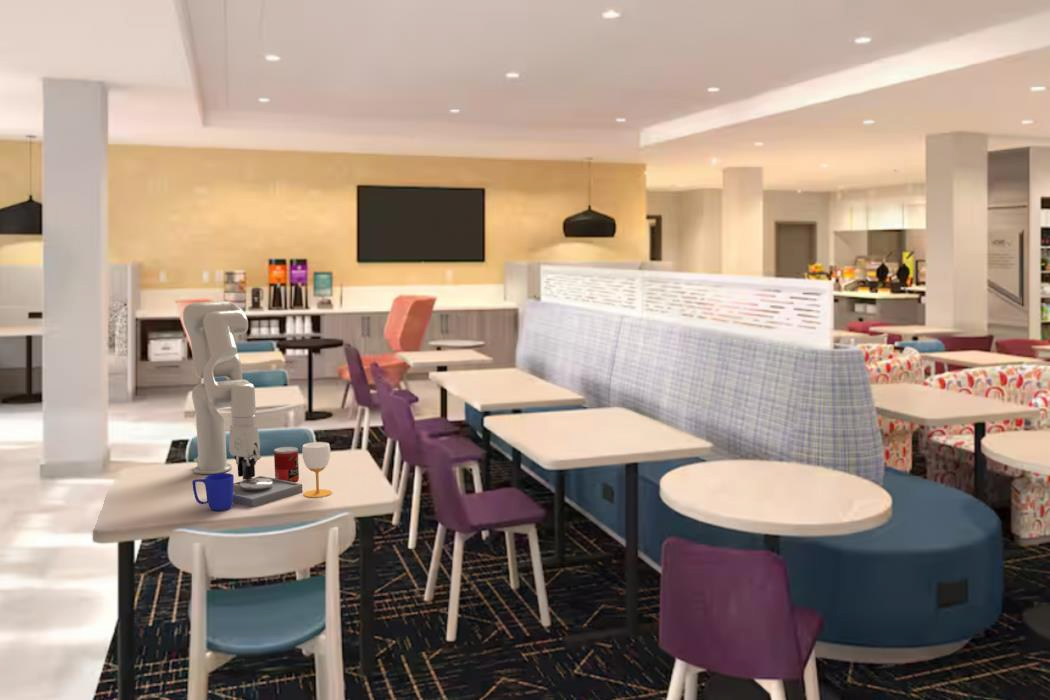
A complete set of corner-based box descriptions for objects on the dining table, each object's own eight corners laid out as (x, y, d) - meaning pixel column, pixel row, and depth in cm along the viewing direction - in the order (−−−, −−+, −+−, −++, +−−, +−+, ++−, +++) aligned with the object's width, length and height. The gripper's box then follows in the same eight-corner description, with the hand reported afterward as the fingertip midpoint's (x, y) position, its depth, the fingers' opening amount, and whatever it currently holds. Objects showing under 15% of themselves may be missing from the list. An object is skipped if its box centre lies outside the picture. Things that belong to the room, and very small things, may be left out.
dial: (277, 486, 283) (277, 464, 282) (247, 491, 276) (246, 469, 276) (260, 477, 293) (259, 456, 293) (230, 482, 287) (229, 461, 286)
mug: (197, 505, 272) (196, 473, 271) (237, 504, 273) (236, 472, 272) (190, 513, 264) (188, 480, 263) (231, 512, 265) (229, 479, 264)
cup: (307, 499, 278) (305, 449, 276) (300, 492, 286) (298, 443, 284) (335, 495, 282) (333, 446, 280) (328, 488, 290) (326, 440, 288)
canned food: (293, 484, 296) (291, 452, 295) (271, 483, 298) (269, 451, 296) (303, 478, 303) (301, 447, 302) (281, 477, 305) (280, 446, 304)
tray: (210, 497, 281) (210, 489, 281) (260, 483, 297) (260, 475, 297) (252, 507, 270) (252, 498, 270) (302, 491, 287) (302, 484, 286)
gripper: (217, 420, 288) (220, 475, 290) (252, 425, 279) (254, 482, 281) (236, 416, 294) (239, 470, 296) (270, 421, 285) (272, 477, 287)
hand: (246, 476), depth 289 cm, fingers closed on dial, 3 cm apart
